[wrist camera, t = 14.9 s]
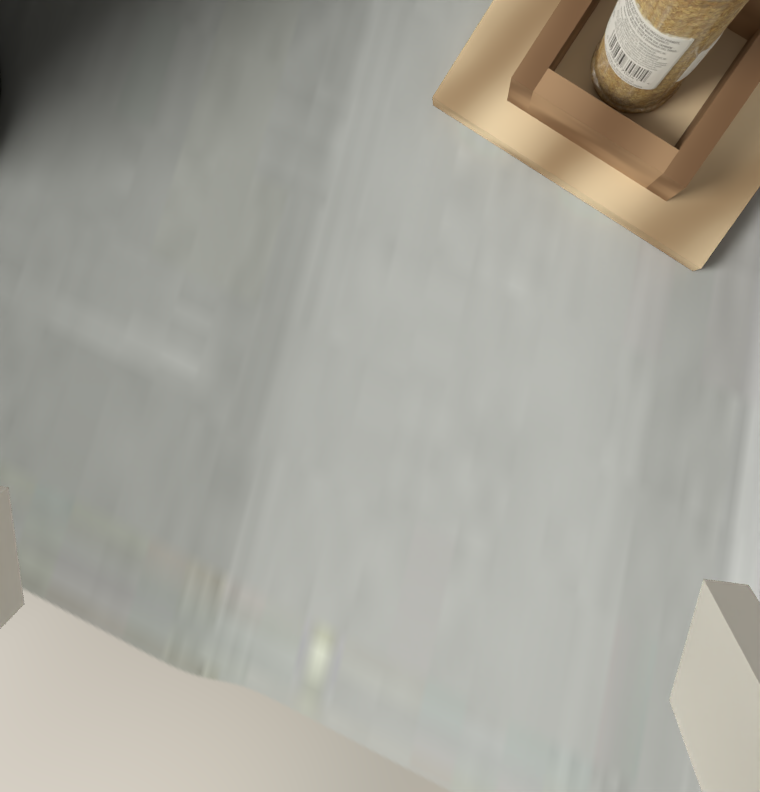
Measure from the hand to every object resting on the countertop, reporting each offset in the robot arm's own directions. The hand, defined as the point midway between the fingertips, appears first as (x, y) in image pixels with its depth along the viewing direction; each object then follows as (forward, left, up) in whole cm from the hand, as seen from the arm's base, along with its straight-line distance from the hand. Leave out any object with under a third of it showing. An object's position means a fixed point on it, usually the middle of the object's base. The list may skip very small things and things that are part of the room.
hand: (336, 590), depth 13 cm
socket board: (-1, +21, -25) cm, 32 cm away
